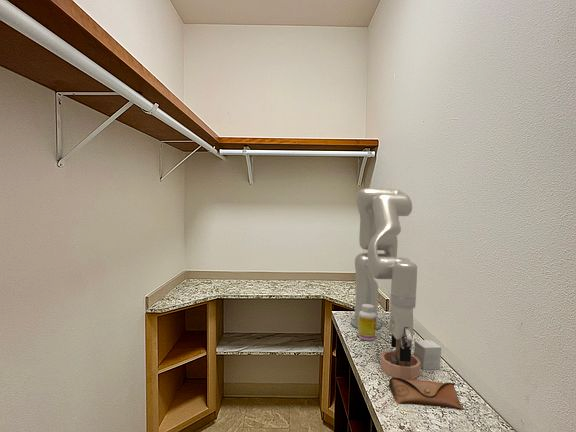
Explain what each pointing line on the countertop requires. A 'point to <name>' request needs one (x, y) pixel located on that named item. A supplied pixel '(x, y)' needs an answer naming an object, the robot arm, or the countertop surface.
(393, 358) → the terracotta shallow dish
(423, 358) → the product box
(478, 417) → the countertop surface
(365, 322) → the supplement bottle
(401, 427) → the countertop surface
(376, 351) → the countertop surface
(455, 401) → the sunglasses case
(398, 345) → the wooden plank
